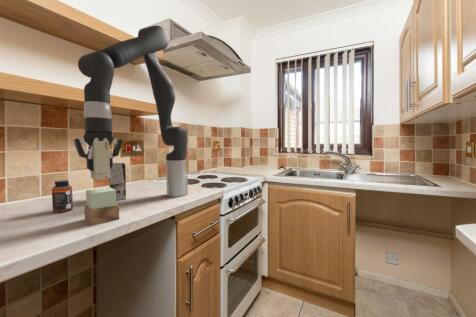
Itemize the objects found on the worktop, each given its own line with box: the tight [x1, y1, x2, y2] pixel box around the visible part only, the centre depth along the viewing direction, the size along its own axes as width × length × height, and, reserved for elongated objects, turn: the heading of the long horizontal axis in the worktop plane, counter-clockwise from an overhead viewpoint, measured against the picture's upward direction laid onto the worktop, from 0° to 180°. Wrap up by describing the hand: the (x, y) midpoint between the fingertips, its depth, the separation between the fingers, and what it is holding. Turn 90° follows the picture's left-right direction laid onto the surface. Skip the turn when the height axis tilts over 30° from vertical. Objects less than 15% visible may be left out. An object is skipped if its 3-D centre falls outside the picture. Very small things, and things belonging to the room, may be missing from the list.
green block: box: [85, 186, 118, 210], centre depth 72 cm, size 7×7×5 cm
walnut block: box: [83, 203, 120, 226], centre depth 73 cm, size 8×8×5 cm
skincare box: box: [90, 141, 110, 180], centre depth 72 cm, size 6×4×12 cm
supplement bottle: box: [51, 179, 74, 213], centre depth 82 cm, size 6×6×11 cm
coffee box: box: [108, 162, 127, 201], centre depth 101 cm, size 9×6×16 cm
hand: (100, 169), depth 72 cm, fingers closed on skincare box, 4 cm apart
